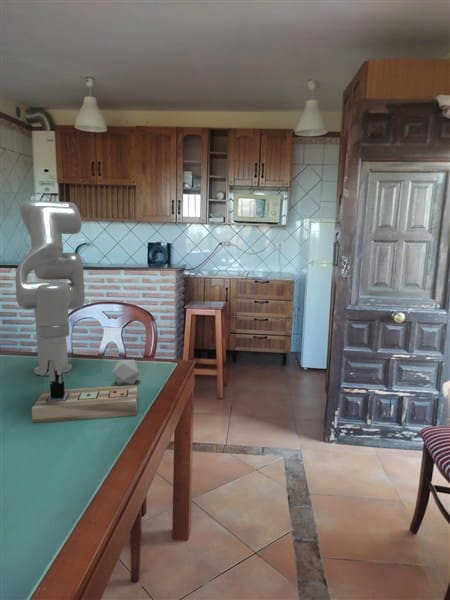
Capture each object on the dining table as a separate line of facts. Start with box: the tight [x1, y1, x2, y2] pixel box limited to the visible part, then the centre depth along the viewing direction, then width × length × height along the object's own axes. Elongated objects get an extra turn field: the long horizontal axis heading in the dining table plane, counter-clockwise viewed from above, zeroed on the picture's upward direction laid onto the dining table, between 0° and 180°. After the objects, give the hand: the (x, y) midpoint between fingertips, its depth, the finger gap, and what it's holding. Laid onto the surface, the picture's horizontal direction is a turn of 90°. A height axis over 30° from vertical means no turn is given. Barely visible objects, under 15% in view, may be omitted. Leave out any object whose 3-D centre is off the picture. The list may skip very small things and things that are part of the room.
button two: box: [110, 390, 127, 398], centre depth 108 cm, size 4×4×3 cm
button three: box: [47, 393, 68, 402], centre depth 105 cm, size 4×4×3 cm
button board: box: [31, 384, 139, 424], centre depth 106 cm, size 12×26×4 cm, turn 101°
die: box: [111, 359, 141, 386], centre depth 126 cm, size 8×9×10 cm
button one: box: [79, 392, 98, 400], centre depth 106 cm, size 4×4×3 cm
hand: (57, 396), depth 104 cm, fingers closed
